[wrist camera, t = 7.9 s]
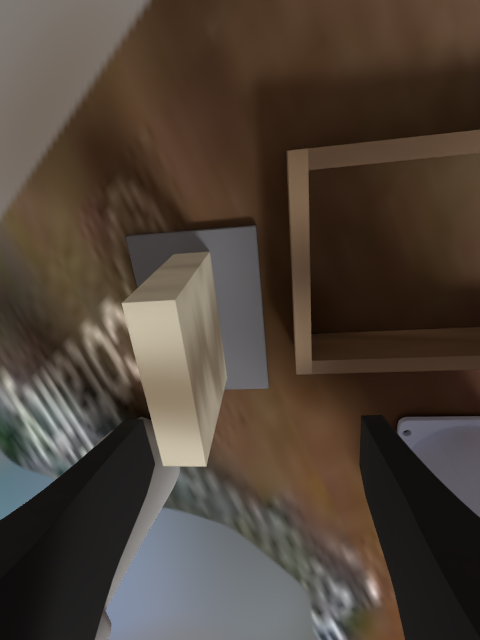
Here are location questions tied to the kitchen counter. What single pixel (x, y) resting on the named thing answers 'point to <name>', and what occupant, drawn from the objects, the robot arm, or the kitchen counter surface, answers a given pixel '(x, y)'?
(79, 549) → the robot arm
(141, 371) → the cream flat block
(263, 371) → the rubber mat
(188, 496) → the kitchen counter surface
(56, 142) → the kitchen counter surface
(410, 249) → the kitchen counter surface
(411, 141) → the tray
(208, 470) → the kitchen counter surface
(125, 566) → the salt shaker
